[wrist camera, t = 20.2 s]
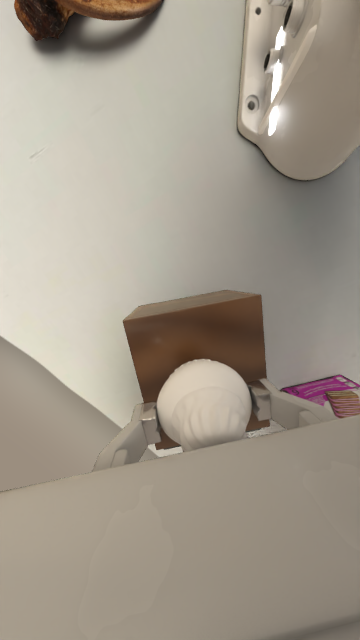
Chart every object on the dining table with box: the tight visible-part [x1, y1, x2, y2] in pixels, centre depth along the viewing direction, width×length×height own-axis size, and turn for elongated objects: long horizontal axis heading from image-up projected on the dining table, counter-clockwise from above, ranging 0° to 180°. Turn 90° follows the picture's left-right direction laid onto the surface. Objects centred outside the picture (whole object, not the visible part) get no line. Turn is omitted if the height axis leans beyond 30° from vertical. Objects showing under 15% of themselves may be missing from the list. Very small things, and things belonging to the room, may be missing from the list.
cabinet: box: [123, 290, 270, 450], centre depth 22 cm, size 15×13×10 cm
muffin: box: [157, 359, 252, 452], centre depth 11 cm, size 6×6×7 cm
